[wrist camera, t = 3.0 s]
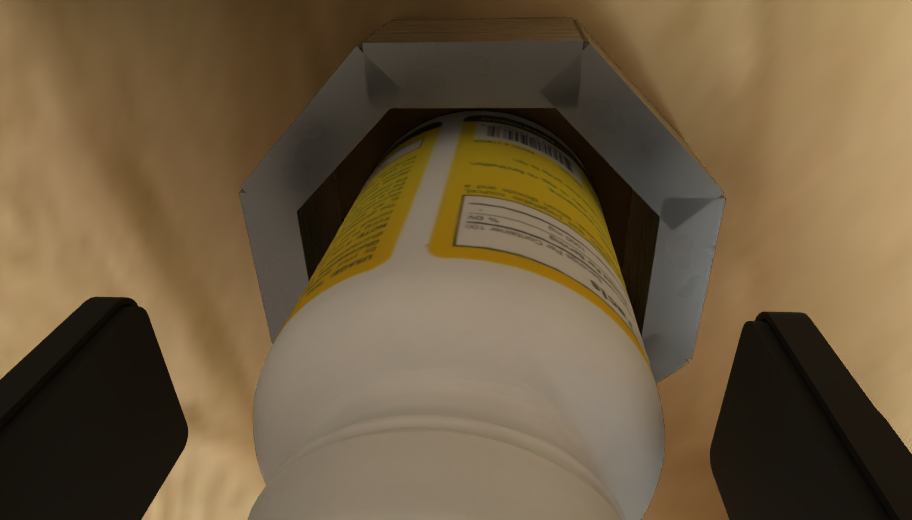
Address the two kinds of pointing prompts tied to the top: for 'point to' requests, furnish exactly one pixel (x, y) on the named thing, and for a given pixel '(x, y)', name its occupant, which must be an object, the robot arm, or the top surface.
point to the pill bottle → (463, 346)
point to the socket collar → (495, 86)
